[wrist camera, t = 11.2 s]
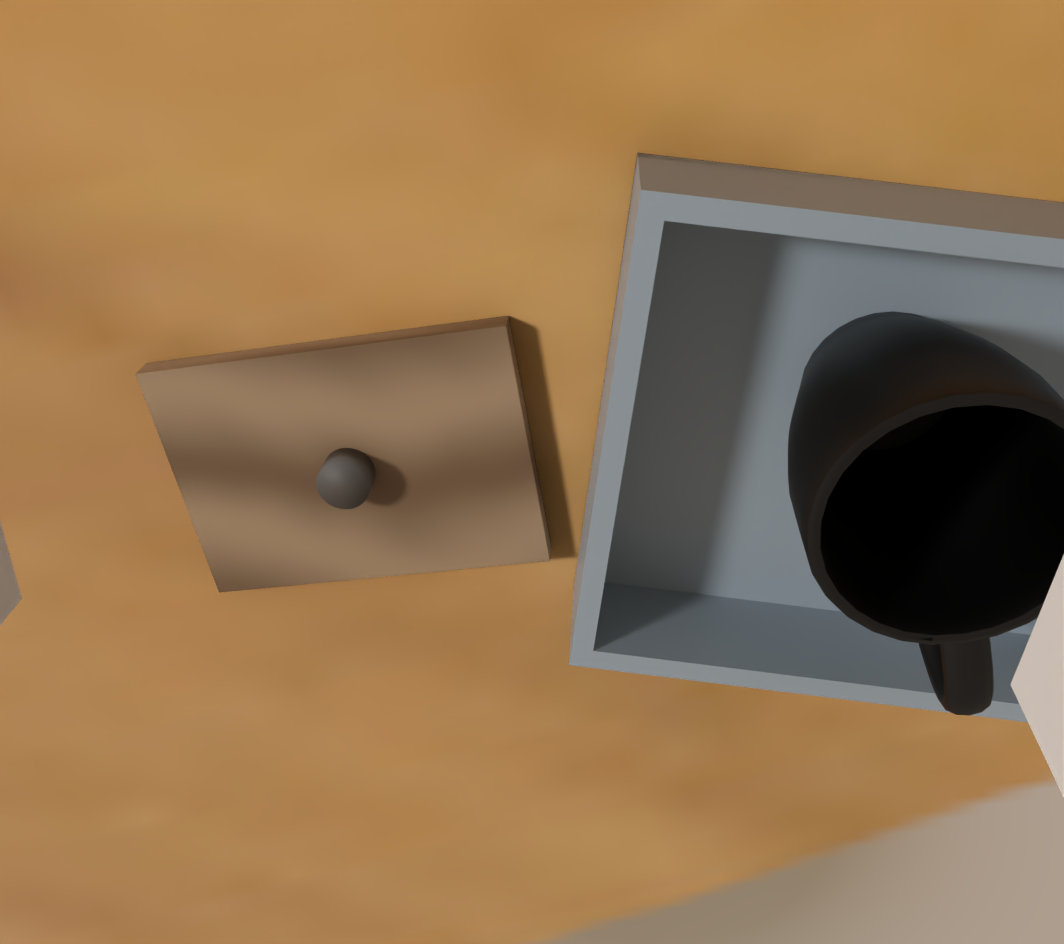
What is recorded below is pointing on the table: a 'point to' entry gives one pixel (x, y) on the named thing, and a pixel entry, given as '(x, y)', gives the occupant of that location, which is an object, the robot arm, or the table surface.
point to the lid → (354, 455)
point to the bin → (774, 411)
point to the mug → (929, 490)
